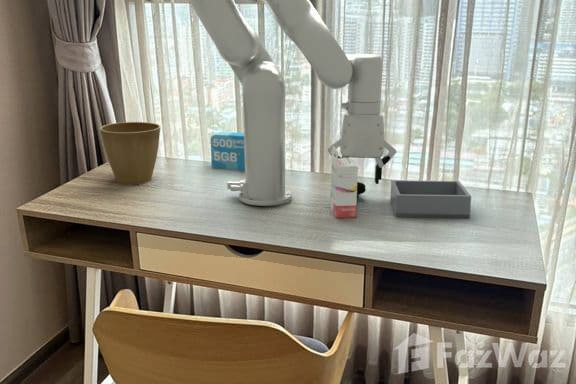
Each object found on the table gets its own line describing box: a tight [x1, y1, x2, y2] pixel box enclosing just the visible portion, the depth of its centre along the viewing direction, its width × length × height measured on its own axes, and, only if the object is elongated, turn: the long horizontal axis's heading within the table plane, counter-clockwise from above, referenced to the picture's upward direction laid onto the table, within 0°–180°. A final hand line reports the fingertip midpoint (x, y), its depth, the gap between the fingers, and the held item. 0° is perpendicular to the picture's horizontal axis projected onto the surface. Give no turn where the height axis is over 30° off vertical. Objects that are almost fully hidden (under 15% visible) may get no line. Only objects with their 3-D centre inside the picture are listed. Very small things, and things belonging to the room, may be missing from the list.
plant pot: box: [99, 121, 161, 186], centre depth 157 cm, size 15×15×16 cm
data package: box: [210, 131, 245, 172], centre depth 168 cm, size 12×4×12 cm, turn 74°
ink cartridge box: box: [329, 146, 359, 219], centre depth 135 cm, size 9×5×15 cm, turn 4°
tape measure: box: [357, 181, 367, 196], centre depth 147 cm, size 7×7×4 cm
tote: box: [389, 179, 472, 219], centre depth 139 cm, size 16×13×5 cm
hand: (360, 181), depth 146 cm, fingers open, 7 cm apart
